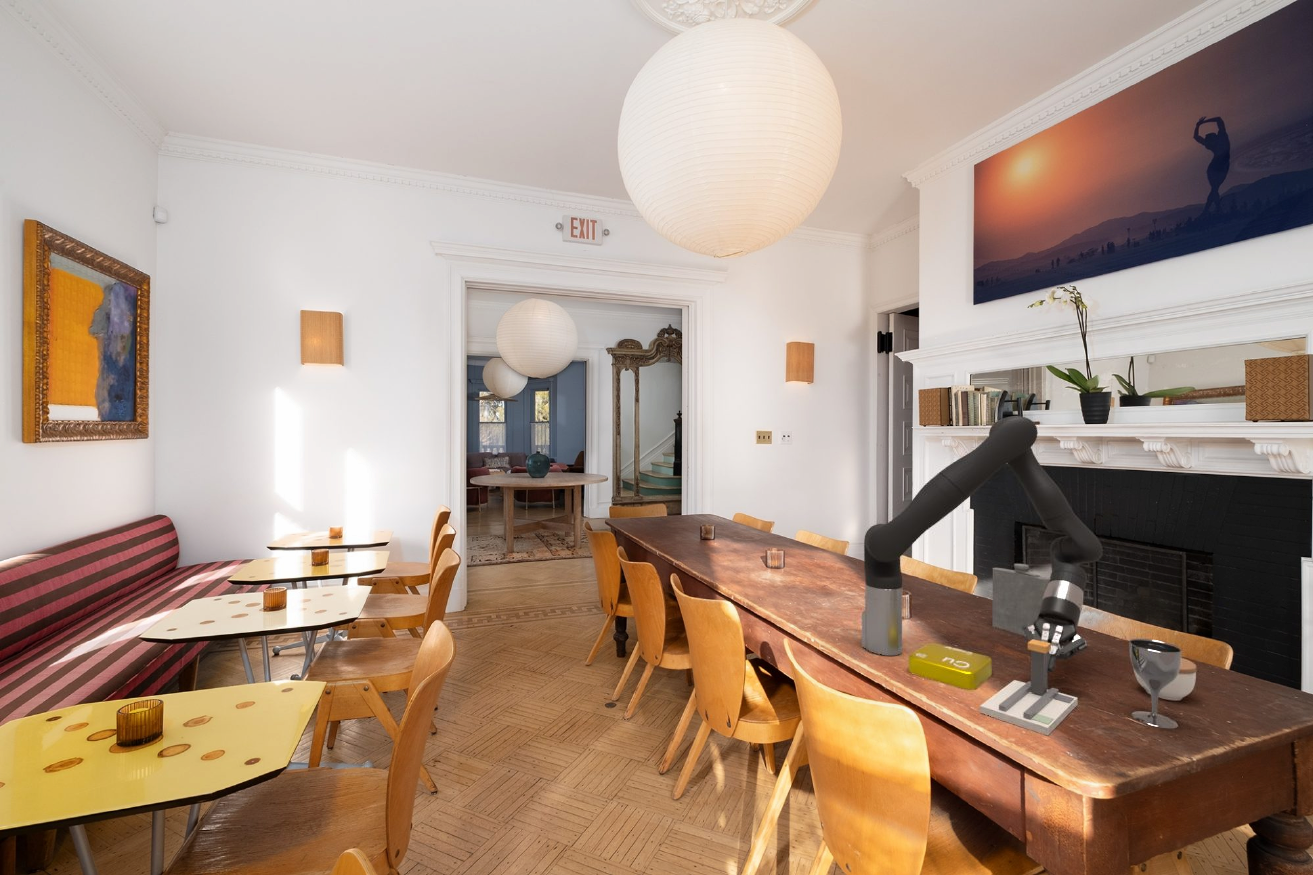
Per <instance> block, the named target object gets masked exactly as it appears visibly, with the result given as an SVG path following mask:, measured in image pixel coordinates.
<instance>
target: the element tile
mask: <svg viewBox="0 0 1313 875" xmlns="http://www.w3.org/2000/svg"><path fill="white" fill-rule="evenodd" d="M992 660H993V659H992V658H991V657H990V656H988V655H985V654H981V653H975V652H972V651H968V650H964V649H960V648H957V647H956V648H955V647H953V646H949V645H944V644H939V643H935V642H929V643H926V644H925V645H924V646H922V647H920V648H918V649H917V650H915V651H914V652H912V653H910V654H909V655H908V672H909V671H910V672H909V674H912V673H914V674H916V675H915V676H917V675H920V676H919V677H921V676H922V678H924V677H927V678H926V679H928V678H929V679H928V680H931V679H933V680H932V681H934V682H938V681H940V682H939V683H941V682H942V683H941V684H945V683H946V684H945V685H949V686H952V687H955V688H960V689H963V690H967V691H973V690H977V689H978V688H979V687H980V686H982V684H983V683H985V682H986V681H987V680H989V678H990V677H992V669H993V667H992V665H993V664H992V662H993V661H992ZM914 674H913V675H914Z"/></svg>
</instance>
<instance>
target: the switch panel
mask: <svg viewBox="0 0 1313 875" xmlns="http://www.w3.org/2000/svg"><path fill="white" fill-rule="evenodd" d="M1078 700H1079V699H1078V697H1076V696H1073V695H1069V694H1066V693H1063V692H1062V693H1061V692H1059V689H1058V688H1054V687H1050V689H1048V688H1047V692H1046V693H1045V694H1044V695H1040V694H1036V693H1033V692H1031V680H1029V681H1027V682H1023V681H1020V680H1015V679H1013V680H1012V681H1011V682H1010V683H1008V684H1007V685H1006V686H1005V687H1003V688H1002V689H1001V690H998V692H996V693H995V694H994V695H993V696H991V697H990V698H988V699H987V700H986V701H984V702H983V703H982V704H980V705H979V713H980V714H981V713H984V714H985V715H984V714H983V715H984V716H987V715H989V716H988V717H990V716H991V718H993V717H994V719H996V720H1000V721H1003V722H1005V723H1008V724H1012V725H1013V726H1017V727H1020V728H1023V729H1027V730H1029V731H1032V732H1036V733H1039V734H1041V735H1044V736H1049V735H1050V734H1051V733H1052V732H1053V731H1054V730H1055V729H1056V728H1057V727H1058V726H1059V725H1060V724H1061V723H1062V722H1063V721H1064V720H1065V719H1066V717H1067V716H1069V714H1071V712H1072V711H1073V710H1074V709H1075V708H1076V707H1077V706H1078Z"/></svg>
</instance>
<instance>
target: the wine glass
mask: <svg viewBox="0 0 1313 875" xmlns="http://www.w3.org/2000/svg"><path fill="white" fill-rule="evenodd" d="M1129 656H1130V662H1131V665H1132V668H1133V671H1134V670H1135V671H1136V673H1137V674H1138V675H1139V676H1140V677H1141V678H1142V680H1143V681H1144V682H1145V683H1146V684H1147V686H1148V687H1149V689H1150V692H1151V695H1150V697H1151V712H1150V711H1145V710H1144V711H1143V710H1142V711H1141V710H1140V711H1137V710H1136V711H1133V712H1132V713H1131V717H1133V718H1134V719H1135V720H1136V721H1139V722H1141V723H1143V724H1146V725H1148V726H1151V727H1156V728H1162V729H1172V730H1173V729H1176V728H1178V727H1179V724H1178V723H1177V721H1175V720H1174V719H1172V718H1169V717H1167V716H1165V715H1161V714H1158V700H1159V698H1158V696H1159V692H1160V691H1161V689H1162V688H1163V687H1165V686H1166V685H1168V684H1169V683H1170V682H1172V681H1173V680H1174V679H1176V677H1177V675H1178V673H1179V670H1180V665H1181V658H1182V649H1181V648H1180V647H1178V646H1177V645H1174V644H1172V643H1169V642H1165V641H1160V640H1156V639H1148V638H1132V639H1129Z"/></svg>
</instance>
